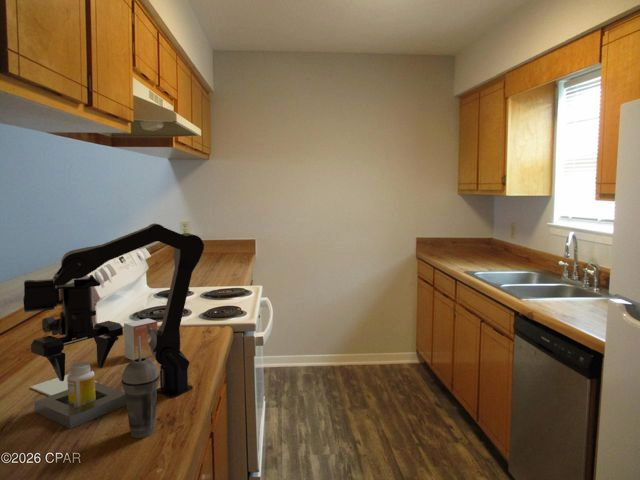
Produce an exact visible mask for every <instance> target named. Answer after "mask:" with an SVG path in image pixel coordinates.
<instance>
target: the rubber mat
mask: <svg viewBox="0 0 640 480" xmlns="http://www.w3.org/2000/svg"><path fill="white" fill-rule="evenodd" d="M69 374H70V373H68V374H65V377H64V381H60V380H59V378H58V377H56V378H53V379H49V380H46V381H44V382H43V381H42V382H40V383H37V384H34V385H31V386H30V389H32V390H34V391H36V392H39V393H41V394H43V395H46V396H47V397H48V396H51V395H54V394H57V393H60V392H62V391H65V390H68V382H67V377H68V375H69ZM95 382H97V383H98V381H97V380H95Z"/></svg>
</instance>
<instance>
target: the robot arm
mask: <svg viewBox="0 0 640 480" xmlns="http://www.w3.org/2000/svg"><path fill="white" fill-rule="evenodd" d="M156 242H159V243H162V244H165V245H167V246H169V247H172V248H173V259H174V260H173V261H174V270H173V273H172V279H171V284H170V288H169V292H168V297H167V299H166V304H165V309H164V314H163V317H162V318H163V319H162V322H161V324H160V326H158V328H157V330H155V329H152V337H151V340H150V342H149V346H150V348H151V352H152V354H153V356H152V357H154V359H155V361H156V362H157V363H158V364H159V365H160V366H159V367H160V368H159V369H160V370H159V385H160V387H157V393H159V394H162V395H165V396H168V397H171V398H175V397H177V396H180V395H182V394H183V393H186V392H188V391H190V390H192V389H193V387H194V386H193V385H190V384H189V383H188V381H189V380H188V379H189V377H188V374H189V373H188V369H189V365H190V361H189V359H188V357H186V355H185V354H184V353H183V352H182V351H181V333H180V331H181V330H180V329H181V328H180V327H181V323H182V320H183V313H184V309H185V306H186V301H187V297H188V292H189V288H190V284H191V280H192V274H193V272H194V271H195V269H196V267H197V265H198V263H199V262H200V259H201V258H202V254H203V253H204V250H205V243H204V241H203V240H202V238H201V237H200V236H198V235H196V234H193V233H190V232H183V233H179V232H177V231H174V230H172V229H170V228H166V227H164V225H162V224H159V223H151V224H149V225H148V226H146V227H142V228H141V229H139V230H136V231H133V232H131V233H128V234H125V235H123V236H120V237H117V238H115V239H112V240H110V241H108V242H104V243H102V244H99V245H94V246H86V247H82V248H76V249H72V250H69V251H67V252H65V254H64V255H63V256H62V258H61V260H60V261H61V262H60V267H59V268H58V270H57V272H56V273H54V275H53V277H52V278H49V279H48V278H47V279H38V280H35V279H27V280H24V281H23V287H24V289H23V294H24V295H23V301H22V302H23V310H24V313H32V312H42V311H43V312H44V311H51V310H55V307H57V306H59V305H61V300H60V299H61V298H60V290H62V300H63V301H62V304H63V311H60V314H59V318H56V319H55V318H54V316H49V317H45V318H43V319H42V320H41V323H42V324H41V329H42V331H43V332H44V334H47V333H50V332H51V335H47V336H43V337H39V338H36V339H35V338H34V339H33V341H32V342H31V344H30V352H31V354H33V355H34V354H35V355H38V356H41V357H44V358H46V359H47V360H48V362H49V363H50V364H51V367H52V368H53V370H54V372H55V375H56V376H57V378H59V380H60V381H64V377H65V375H66V352H63V350H64V349H65V346H69V345H71V344H76V343H79V342H83V341H88V340H89V339H90V340H91V339H93V340H94V342H95V345H96V362H97V363H96V364H97V367H98V369H103V367H104V365H105V362H106V361H107V359H108V356H109V354H110V351H112V348H113V346H114V345H115V342H116V341H118V340H119V337H121V336H123V335H124V326H122V324H121V323H120V322H115V321H112V320H106V321H101V322H98V323H95V324H94V316H96V315H97V310H94V309H93V296H92V295H93V294H92V293H93V292H92V287H100V286H101V281H99V280H98V279H97V278H95V277H94V275H93V274H91V273H93V272H94V271H96V270H97V269H99V268H100V267H101V266H103V265H104V264H105V263H107V262H109V261H111V260H114V259H116V258H119V257H121V256H124V255H125V254H128V253H131V252H133V251H137V250H138V249H141V248H144V247H146V246H149V245H151V244H154V243H156ZM89 274H90V275H89ZM88 275H89V276H88ZM86 276H88V277H87V278H85V277H86ZM72 280H73V282H71V281H72ZM69 282H71V283H69ZM56 335H60V336H63V337H56Z"/></svg>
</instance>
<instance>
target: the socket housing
mask: <svg viewBox="0 0 640 480" xmlns="http://www.w3.org/2000/svg"><path fill="white" fill-rule="evenodd" d="M95 394H96V400H95V401H93V402H90V403H88V404H85V405H83V406H80V407H78V408H74V407H71V406H69V399H68V390H65V391H62V392H60V393H57V394H54V395H51V396H48V395H47V396H45V397H42V398H41V399H37V400H35V401H33V403H34V404H33V405H34V407H33V408H34V413H35V414H38V415H40V416H42V417H43V418H44V417H45V418H46V419H49V420H51V421H52V422H55V423H58V424H60V425H61V426H64V427H66V428H68V429H73V428H75V427H79V425H82V424H86V423H88V422H90V421H92V420H94V419H97V418H99V417H101V416H104V415H106V414H108V413H111V412H113V411H115V410H117V409H119V408H123V407H125V406H127V405H126V397H125V392H124V391H121V390H119V389H116V388H114V387H110V386H107V385H105V384H102V383H99V382H98V381H97V382H95Z"/></svg>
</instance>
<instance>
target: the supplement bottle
mask: <svg viewBox="0 0 640 480" xmlns="http://www.w3.org/2000/svg"><path fill="white" fill-rule="evenodd" d="M68 374H69V375H68V377H67V382H68V399H69V406H71V407H74V408H78V407H80V406H83V405H85V404H88V403H90V402H93V401H95V400H96V394H95V381H96V380H95V379H96V377H95V372H94V371H93V370H91V363H90V362H88V361H80V362H75V363H73V364H72V365H70V372H69V373H68Z"/></svg>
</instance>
